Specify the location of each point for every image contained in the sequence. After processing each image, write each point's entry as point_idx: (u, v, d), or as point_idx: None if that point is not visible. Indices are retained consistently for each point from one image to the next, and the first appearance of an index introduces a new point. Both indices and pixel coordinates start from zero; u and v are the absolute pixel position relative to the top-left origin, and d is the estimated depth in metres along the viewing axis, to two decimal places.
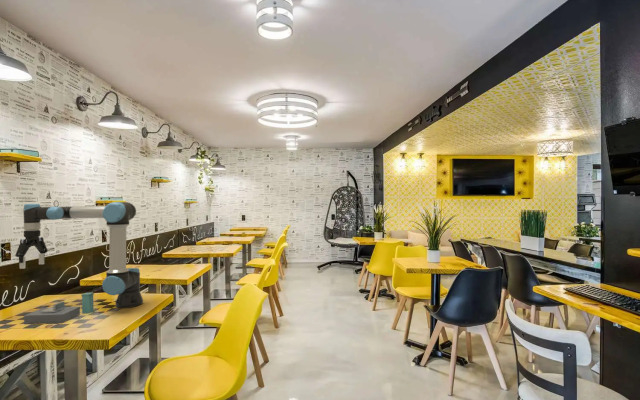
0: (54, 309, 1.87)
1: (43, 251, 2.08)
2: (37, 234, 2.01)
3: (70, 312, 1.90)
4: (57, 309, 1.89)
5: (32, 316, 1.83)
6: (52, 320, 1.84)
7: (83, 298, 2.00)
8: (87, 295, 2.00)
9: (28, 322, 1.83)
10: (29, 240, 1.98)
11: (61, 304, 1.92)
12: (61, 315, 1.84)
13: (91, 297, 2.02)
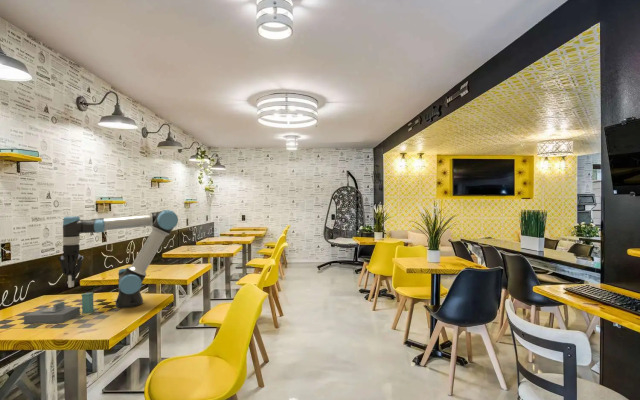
0: (54, 309, 1.87)
1: (71, 272, 1.90)
2: (65, 249, 1.88)
3: (70, 312, 1.90)
4: (57, 309, 1.89)
5: (32, 316, 1.83)
6: (52, 320, 1.84)
7: (83, 298, 2.00)
8: (87, 295, 2.00)
9: (28, 322, 1.83)
10: (63, 255, 1.90)
11: (61, 304, 1.92)
12: (61, 315, 1.84)
13: (91, 297, 2.02)
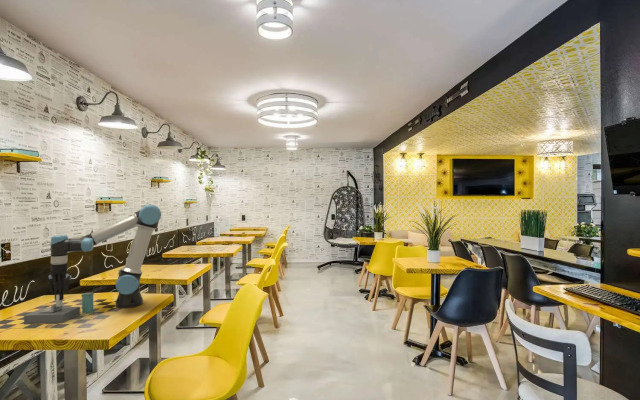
0: (52, 309, 1.87)
1: (59, 291, 1.89)
2: (53, 269, 1.87)
3: (70, 312, 1.90)
4: (55, 309, 1.89)
5: (32, 316, 1.83)
6: (52, 320, 1.84)
7: (83, 298, 2.00)
8: (87, 295, 2.00)
9: (28, 322, 1.83)
10: (51, 274, 1.90)
11: None
12: (61, 315, 1.84)
13: (91, 297, 2.02)
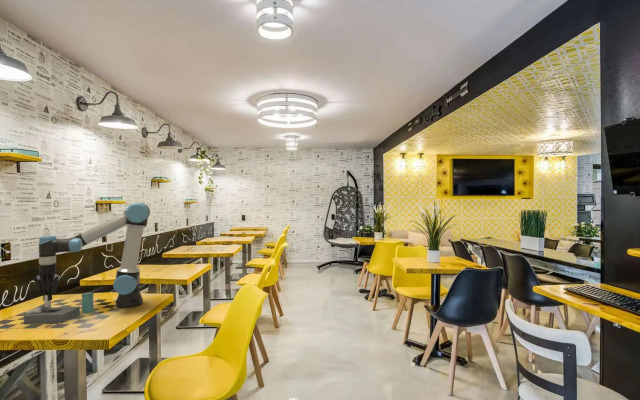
0: (40, 309, 1.87)
1: (47, 292, 1.89)
2: (41, 269, 1.87)
3: (70, 312, 1.90)
4: (43, 309, 1.88)
5: (32, 316, 1.83)
6: (52, 320, 1.84)
7: (83, 298, 2.00)
8: (87, 295, 2.00)
9: (28, 322, 1.83)
10: (40, 274, 1.89)
11: None
12: (61, 315, 1.84)
13: (91, 297, 2.02)
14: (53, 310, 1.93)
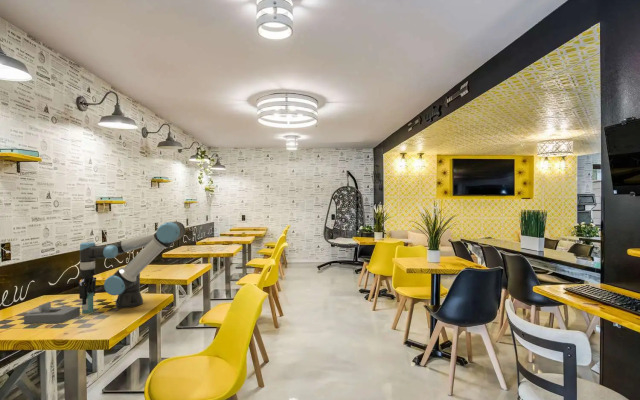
0: (40, 309, 1.87)
1: None
2: (93, 273, 2.02)
3: (70, 312, 1.90)
4: (43, 309, 1.88)
5: (32, 316, 1.83)
6: (52, 320, 1.84)
7: None
8: (87, 295, 2.00)
9: (28, 322, 1.83)
10: (86, 279, 1.99)
11: (47, 304, 1.91)
12: (61, 315, 1.84)
13: (91, 297, 2.02)
14: (53, 310, 1.93)
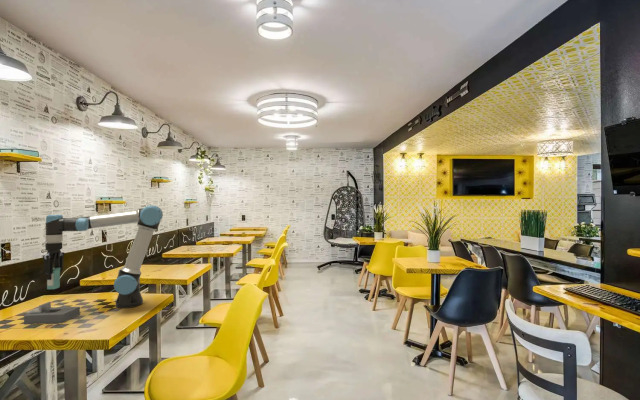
0: (40, 309, 1.87)
1: None
2: (59, 247, 1.91)
3: (70, 312, 1.90)
4: (43, 309, 1.88)
5: (32, 316, 1.83)
6: (52, 320, 1.84)
7: None
8: (53, 270, 1.89)
9: (28, 322, 1.83)
10: (51, 253, 1.88)
11: (47, 304, 1.91)
12: (61, 315, 1.84)
13: (57, 272, 1.91)
14: (53, 310, 1.93)
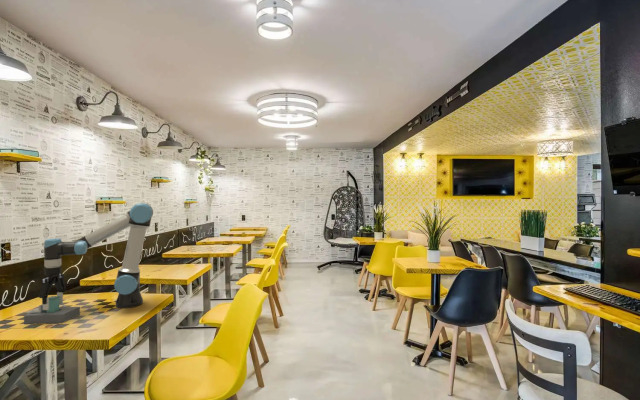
0: (40, 309, 1.87)
1: (62, 290, 1.96)
2: (58, 271, 1.90)
3: (70, 312, 1.90)
4: None
5: (32, 316, 1.83)
6: (52, 320, 1.84)
7: None
8: (52, 299, 1.88)
9: (28, 322, 1.83)
10: (50, 278, 1.87)
11: None
12: (61, 315, 1.84)
13: (57, 301, 1.91)
14: None
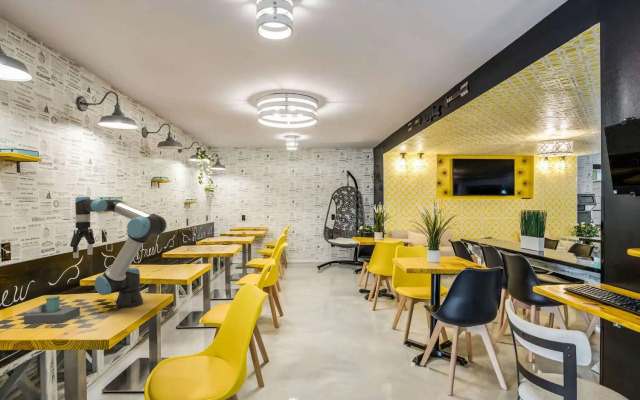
0: (40, 309, 1.87)
1: (92, 242, 2.18)
2: (88, 225, 2.11)
3: (70, 312, 1.90)
4: (43, 309, 1.88)
5: (32, 316, 1.83)
6: (52, 320, 1.84)
7: (48, 302, 1.88)
8: (52, 299, 1.88)
9: (28, 322, 1.83)
10: (81, 231, 2.08)
11: None
12: (61, 315, 1.84)
13: (57, 301, 1.91)
14: None
